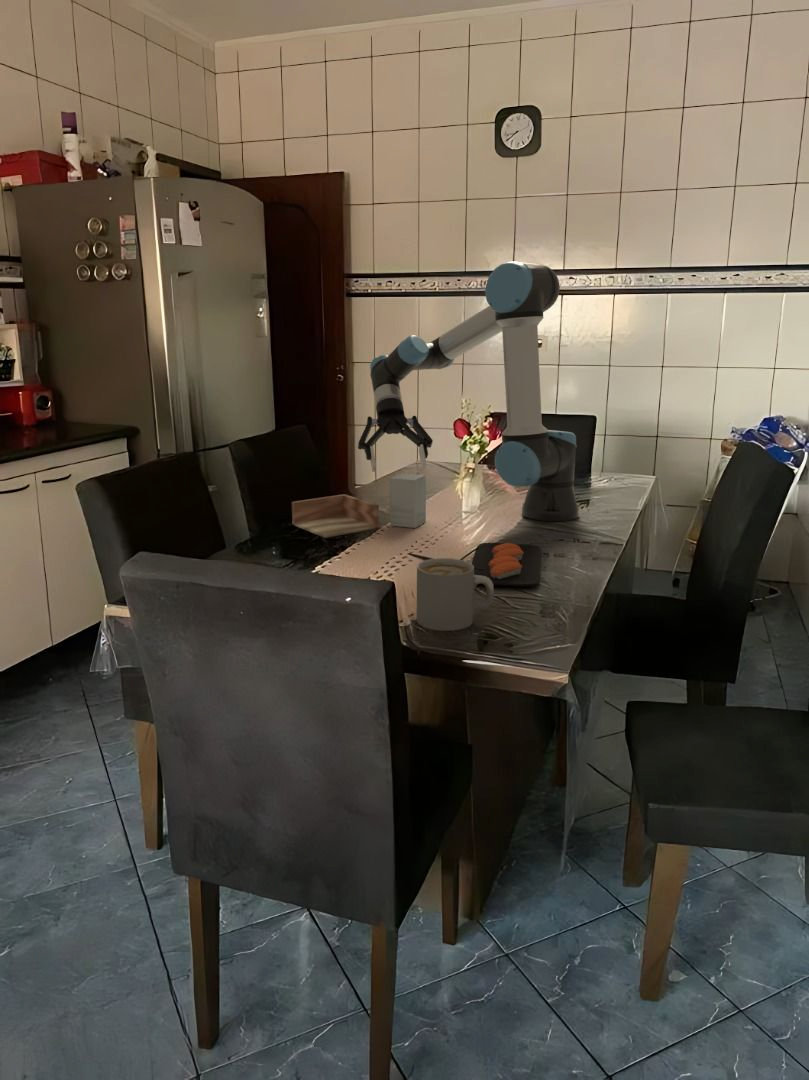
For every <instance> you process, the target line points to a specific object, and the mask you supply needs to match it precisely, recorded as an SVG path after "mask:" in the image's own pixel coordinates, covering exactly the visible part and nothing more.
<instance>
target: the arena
mask: <svg viewBox="0 0 809 1080" xmlns="http://www.w3.org/2000/svg"><path fill="white" fill-rule="evenodd" d="M379 509H380V505H379V504H377V503H374V502H370V501H367V500H364V499H361V498H358V497H355V496H351V495H349V494H345V493H344V494H337V495H330V496H324V497H323V496H322V497H317V498H316V497H315V498H310V499H309V498H308V499H303V500H296V501H291V516H292V517H291V519H292V525H293V526H295V527H297V528H300V529H303V530H304V531H306V532H308V533H309V532H310V533H312V534H314V535H317V536H320V537H321V538H324V539H326V538H332V537H337V536H338V537H339V536H342V535H349V534H352V533H353V534H354V533H359V532H365V531H371V530H376V529H379V528H380V511H379Z"/></svg>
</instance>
